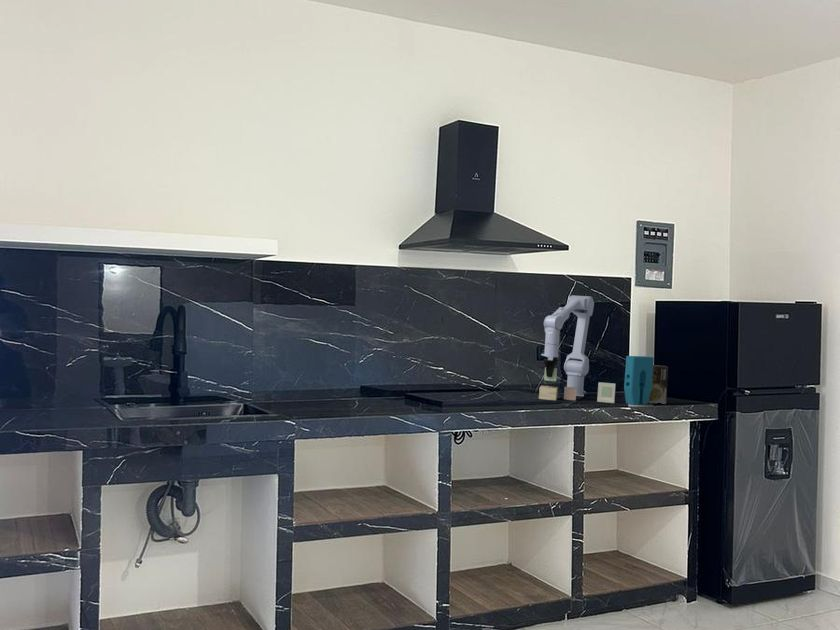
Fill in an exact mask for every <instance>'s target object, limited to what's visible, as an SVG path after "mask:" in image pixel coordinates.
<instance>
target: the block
mask: <svg viewBox="0 0 840 630" xmlns="http://www.w3.org/2000/svg"><path fill="white" fill-rule="evenodd" d="M625 358H626V359H625V372H624V384H623V385H624V386H623V389H624V391H623V392H624V399H625V404H627V405H634V406H636V405H637V406H639V405H644V406H645V404H647V405H648V404H649V403H648V400H649V396H650V393H651V388H652V375H653V365H654V361H655V360H654V359H655V357H652V356H645V355H644V356H642V355H641V356H639V355H626V357H625Z"/></svg>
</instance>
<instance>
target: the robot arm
mask: <svg viewBox="0 0 840 630" xmlns="http://www.w3.org/2000/svg"><path fill="white" fill-rule="evenodd" d="M567 300H568V302H567V303H566V304H565V306H562V307H561V306H560V307H558V309H556V310H555V311H554V312H553V313H552V314H551V315H550V314H549V315H547V316H545V318H544V320H543V327H544V334H545V336H544V337H545V339H544V353H541V354H540V355H541V356H543V357H546V358H544V359H543V362H544V366H545V367H546V375H547V377H552V375H553V371H554V368H555V367H556V364H557V363H558V361H559V359H558V358H559V345H560V344H559V343H560V331H561V330H562V328H563V326H564V323H565V322H566V321H567V320H568V319H569V318H570V314H571V313H573V315H575V316H576V317H577V319H576V320H577V321H576V327H575V335H574V338H573V339H574V341H573V347H572V352H571V353H569V354H567V355H566V359H565V362H564V365H563V370H564V372H565V375H567V380H566V387H576V388H577V389H576V397H584V396H585V394H584V385H585V384H584V382H585V377H586V376H587V375H588V373H589V371H590V364H589V363H590V359H589V358H588V357H587V356H586V355H585V350H586V343H587V336H588V329H589V324H590V317H592V316H593V313H594V308H595V307H594V306H595V302H594V299H593V297H592V296H590V295H589V296H586V295H585V296H584V295H574V294H573V295H570V297H568V299H567Z"/></svg>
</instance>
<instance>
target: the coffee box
mask: <svg viewBox="0 0 840 630" xmlns="http://www.w3.org/2000/svg"><path fill="white" fill-rule="evenodd" d="M668 372H669V366H667V365H657V364H653V375H652V388H651V393H650V396H649V400H648V404H657V403H661V404H660V405H666V404H667V395H668V394H667V392H668V374H669V373H668Z"/></svg>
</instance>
